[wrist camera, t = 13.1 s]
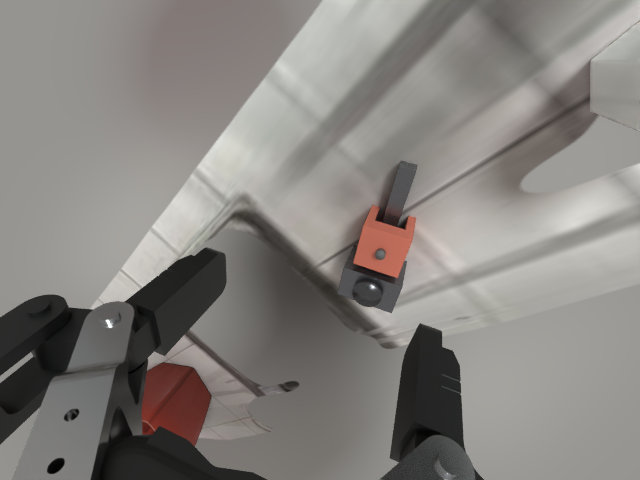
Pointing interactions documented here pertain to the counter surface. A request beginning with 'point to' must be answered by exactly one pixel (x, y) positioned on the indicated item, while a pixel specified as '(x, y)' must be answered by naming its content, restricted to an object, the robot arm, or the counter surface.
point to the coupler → (369, 283)
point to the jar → (618, 80)
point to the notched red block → (384, 244)
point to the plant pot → (174, 401)
